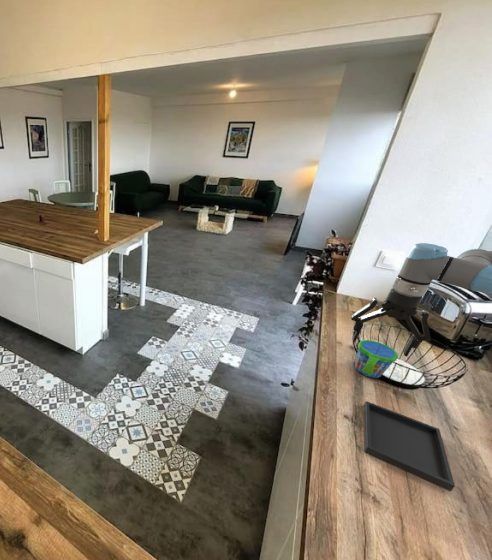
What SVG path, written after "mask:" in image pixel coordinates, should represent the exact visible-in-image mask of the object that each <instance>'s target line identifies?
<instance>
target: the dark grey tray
mask: <svg viewBox="0 0 492 560" xmlns="http://www.w3.org/2000/svg"><path fill="white" fill-rule="evenodd" d="M362 408H363V409H362V410H363V411H362V412H363V445H364V446H363V450H364V451H363V452H364V453H365V454H367V455H370V456H372V457H374V458H376V459H378V460H380V461H383V462H385V463H387V464H390V465H391V466H393V467H396V468H398V469H401V470H402V471H405V472H407V473H409V474H411V475H414V476H416V477H418V478H419V479H422V480H425V481H427V482H429V483H431V484H434V485H436V486H438V487H440V488H442V489H445V490H447V491H449V492H452V490H454V488H455V487H456V485H455V480H454V477H453V474H452V473H453V472H452V470H451V466H450V463H449V459H448V455H447V451H446V449H445V445H444V441H443V437H442V433H441V430H440V428H438V427H435V426H433V425H431V424H427V423H425V422H422V421H420V420H417V419H415V418H412V417H409V416H407V415H404V414H401V413H399V412H396V411H393V410H391V409H388V408H386V407H383V406H380V405H377V404H375V403H373V402H370V401H367V400H365V401H364V404H363V407H362Z"/></svg>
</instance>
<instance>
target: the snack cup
mask: <svg viewBox="0 0 492 560" xmlns="http://www.w3.org/2000/svg"><path fill="white" fill-rule="evenodd" d="M398 358H399V354H398V353H397V351H395V349H394V348H392V347H390V346H389V345H387V344H385V343H381V342H379V341H375V340H369V339H363V340H360V341H359V343H358V345H357V354H356V358H355V363H354V368H355V370H356V371H357V372H358V373H360V374H362V375H364V377H369V378H374V379H379V378H380V377H382V376H383V375H384V373H385V372H386V371H387V370H388V369H389V368H390V366H392V364H393V363H394V362H395V361H397V360H398Z"/></svg>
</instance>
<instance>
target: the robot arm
mask: <svg viewBox="0 0 492 560" xmlns="http://www.w3.org/2000/svg"><path fill="white" fill-rule="evenodd" d="M448 253H449V249H448V248H447V247H445V246H443V245H442V246H441V245H437V244H433V243H427V242H420V243H416V244H414V245H412V247H411V248H410V250H409V252H408V255H407V256H406V257H405V259H404V262H403V263H402V266H401V267H400V270H399V272H398V274H397V276H396V278H395V281H394V282H393V284H392V288H391V289H390V291H389V292H388V295H387V297H386V298H385V299H384V300H381V299H380V300H379V299H378V298H376V297H373V298H372V299H371V300H370V302H369V303H367V304H365V306H362V307H361V308H360V309H358V310H357V311H356V312H354V313H353V314H352V315H351V316H350V318H351V321H354V322H355V323H354V325H353V331H354V333H353V337H352V340H353V341H357V339H358V337H359V335H360V334H361V331H362V329H363V327H364V323H366V322H370V321H372V320H374V319H377V318H380V317H385V316H387V317H388V318H394V319H397V320H399V321H400V320H404V321H405V322H406V324H407V326H408V327H409V329H410V330H411V332H412V334H413V335H411V337H410V338H409V340H408V342H407V344H406V346H405V348H404V349H403V351H402V353H403V356H404V357H408V356H409V354H410V352H411V351H412V350H413V349H417V348H418V347H419V345H420V344H421V343H423V342H424V341H425V342H431V341H432V338H431V333H430V327H429V323H428V319H429V316H430V314H429V310H427V309H423V310H420V309H418V307H419V305H420V304H421V302H422V300H423V296H425V294H426V292H427V291H428V288H429V286H430V285H431V284H432V281H436V282H439V283H443V284H447V285H451V286H455V287H458V288H462V289H466V290H470V291H472V292H477V293H482V294H487V295H490V294H492V250H486V249H482V248H472V249H467V250H465V251H463V252H462V253H460V254H459V255H458V256H457V257H454V256H450V255H448ZM379 306H381V308H379V309H377V310H375V311H372V310H374V308H375V307H379ZM370 311H372V312H370ZM368 312H370V313H368ZM415 315H417V316H418V318H420V322H421V327H422V332H423V334H421V333H420V331H419V329H418V327H417V326H416V324H415V323H414V320H413V319H412V316H415Z"/></svg>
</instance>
